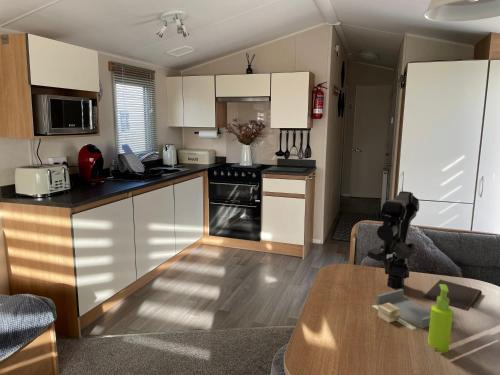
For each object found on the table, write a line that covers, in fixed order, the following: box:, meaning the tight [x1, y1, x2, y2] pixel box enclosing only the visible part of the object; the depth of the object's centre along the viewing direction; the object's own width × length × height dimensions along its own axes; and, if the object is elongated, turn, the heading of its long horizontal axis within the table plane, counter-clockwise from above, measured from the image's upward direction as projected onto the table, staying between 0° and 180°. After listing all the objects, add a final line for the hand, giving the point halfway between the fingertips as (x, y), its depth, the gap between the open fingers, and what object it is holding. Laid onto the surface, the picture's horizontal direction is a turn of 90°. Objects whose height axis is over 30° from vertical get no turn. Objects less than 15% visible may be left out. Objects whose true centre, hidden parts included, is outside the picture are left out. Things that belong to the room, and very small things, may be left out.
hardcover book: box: [422, 279, 483, 312], centre depth 151 cm, size 16×23×2 cm
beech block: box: [377, 303, 400, 323], centre depth 131 cm, size 5×5×4 cm
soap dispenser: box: [427, 284, 454, 354], centre depth 115 cm, size 6×7×20 cm
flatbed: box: [376, 288, 431, 329], centre depth 137 cm, size 13×20×4 cm, turn 27°
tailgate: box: [371, 304, 416, 330], centre depth 132 cm, size 1×18×7 cm
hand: (388, 272), depth 145 cm, fingers closed
